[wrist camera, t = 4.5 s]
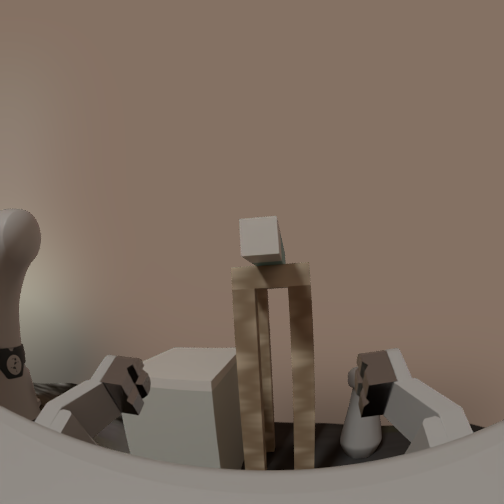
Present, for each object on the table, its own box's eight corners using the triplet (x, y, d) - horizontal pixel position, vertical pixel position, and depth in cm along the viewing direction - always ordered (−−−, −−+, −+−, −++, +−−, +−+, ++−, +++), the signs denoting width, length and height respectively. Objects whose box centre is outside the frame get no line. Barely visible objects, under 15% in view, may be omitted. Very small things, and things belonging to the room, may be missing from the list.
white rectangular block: (142, 495, 23) (115, 373, 25) (185, 441, 39) (174, 347, 41) (226, 509, 22) (210, 381, 24) (248, 445, 38) (241, 347, 40)
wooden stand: (248, 500, 24) (231, 267, 27) (261, 445, 37) (251, 275, 41) (312, 499, 23) (309, 262, 26) (308, 444, 36) (303, 271, 40)
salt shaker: (335, 461, 30) (337, 374, 32) (343, 441, 36) (345, 362, 37) (378, 462, 28) (385, 373, 30) (381, 441, 33) (387, 360, 35)
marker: (241, 256, 19) (239, 219, 19) (267, 273, 39) (266, 254, 39) (279, 253, 19) (276, 215, 19) (286, 271, 38) (284, 253, 39)
